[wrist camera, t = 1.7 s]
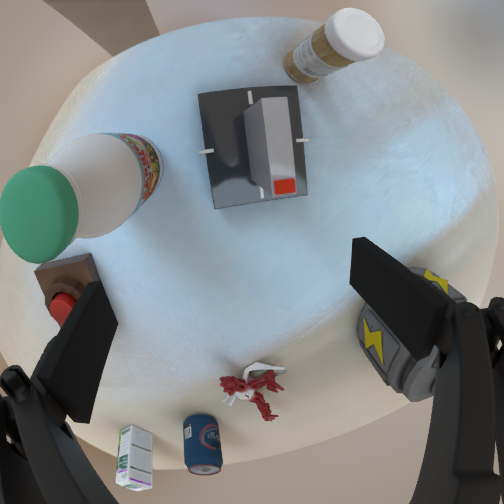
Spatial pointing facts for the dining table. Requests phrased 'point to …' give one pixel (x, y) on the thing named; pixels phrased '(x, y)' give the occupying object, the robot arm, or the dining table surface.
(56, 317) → the button
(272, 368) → the figurine
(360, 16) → the sprinkles bottle
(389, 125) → the dining table surface
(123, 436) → the syrup box
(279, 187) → the tap handle
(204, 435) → the soda can
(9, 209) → the milk bottle
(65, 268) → the button block
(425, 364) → the decorative lamp
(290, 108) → the dark gray flat block
